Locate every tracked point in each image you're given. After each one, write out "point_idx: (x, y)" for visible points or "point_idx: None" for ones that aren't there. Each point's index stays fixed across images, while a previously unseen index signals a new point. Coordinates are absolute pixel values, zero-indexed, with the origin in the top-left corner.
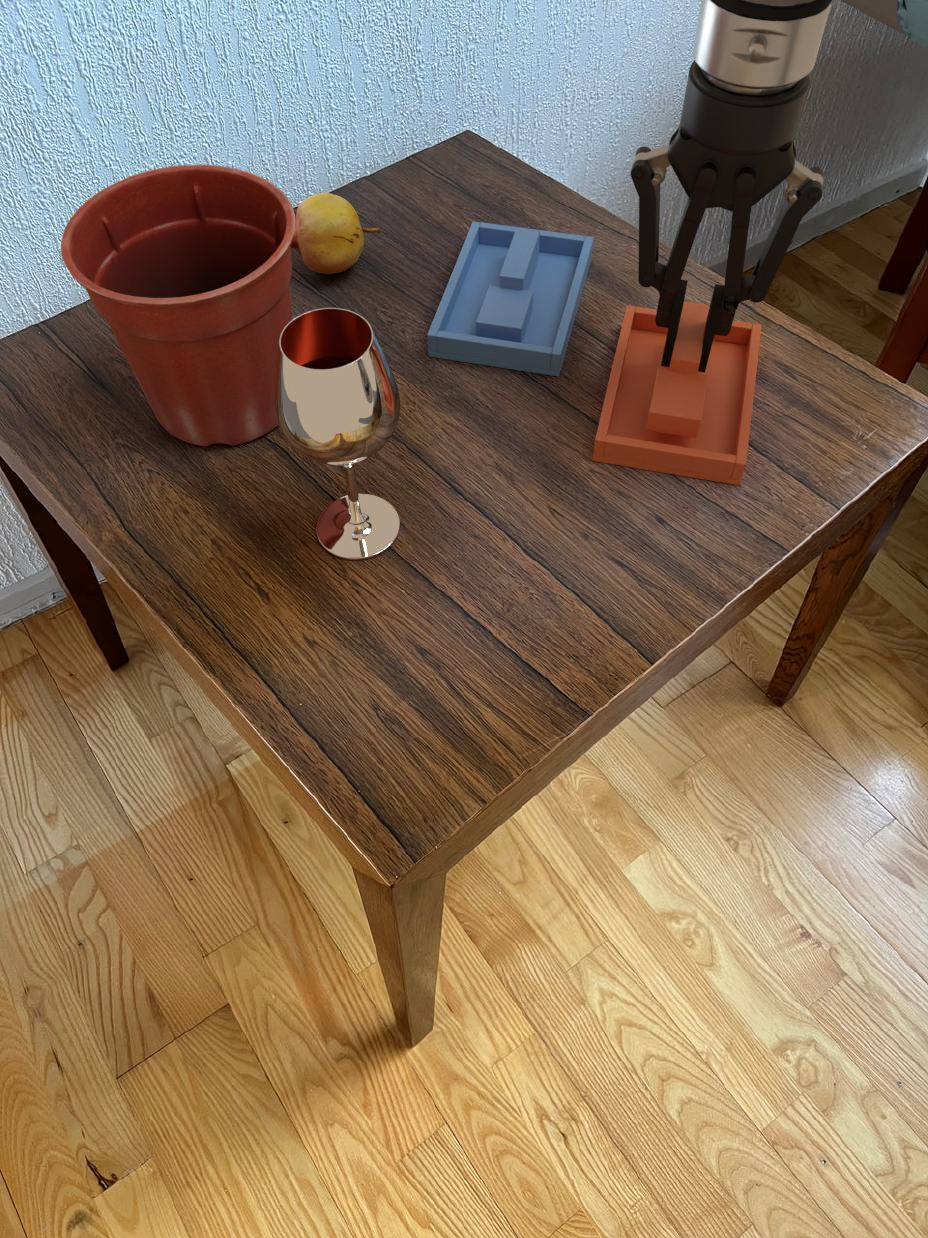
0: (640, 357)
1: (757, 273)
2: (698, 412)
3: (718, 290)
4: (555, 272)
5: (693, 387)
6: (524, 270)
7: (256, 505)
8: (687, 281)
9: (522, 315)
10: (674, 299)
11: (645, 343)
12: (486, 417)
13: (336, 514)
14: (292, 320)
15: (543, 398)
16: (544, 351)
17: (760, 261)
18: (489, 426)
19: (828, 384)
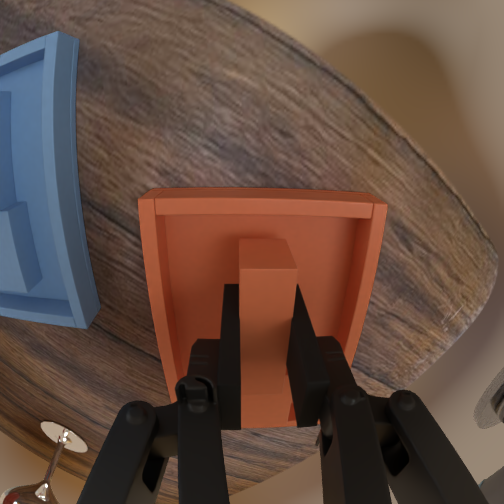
0: (191, 269)
1: (389, 474)
2: (283, 420)
3: (314, 397)
4: (32, 105)
5: (276, 394)
6: None
7: (14, 417)
8: (240, 388)
9: (17, 269)
10: (221, 428)
11: (193, 236)
12: (68, 364)
13: (49, 431)
14: None
15: (101, 339)
16: (68, 326)
17: (404, 473)
18: (77, 373)
19: (443, 251)
